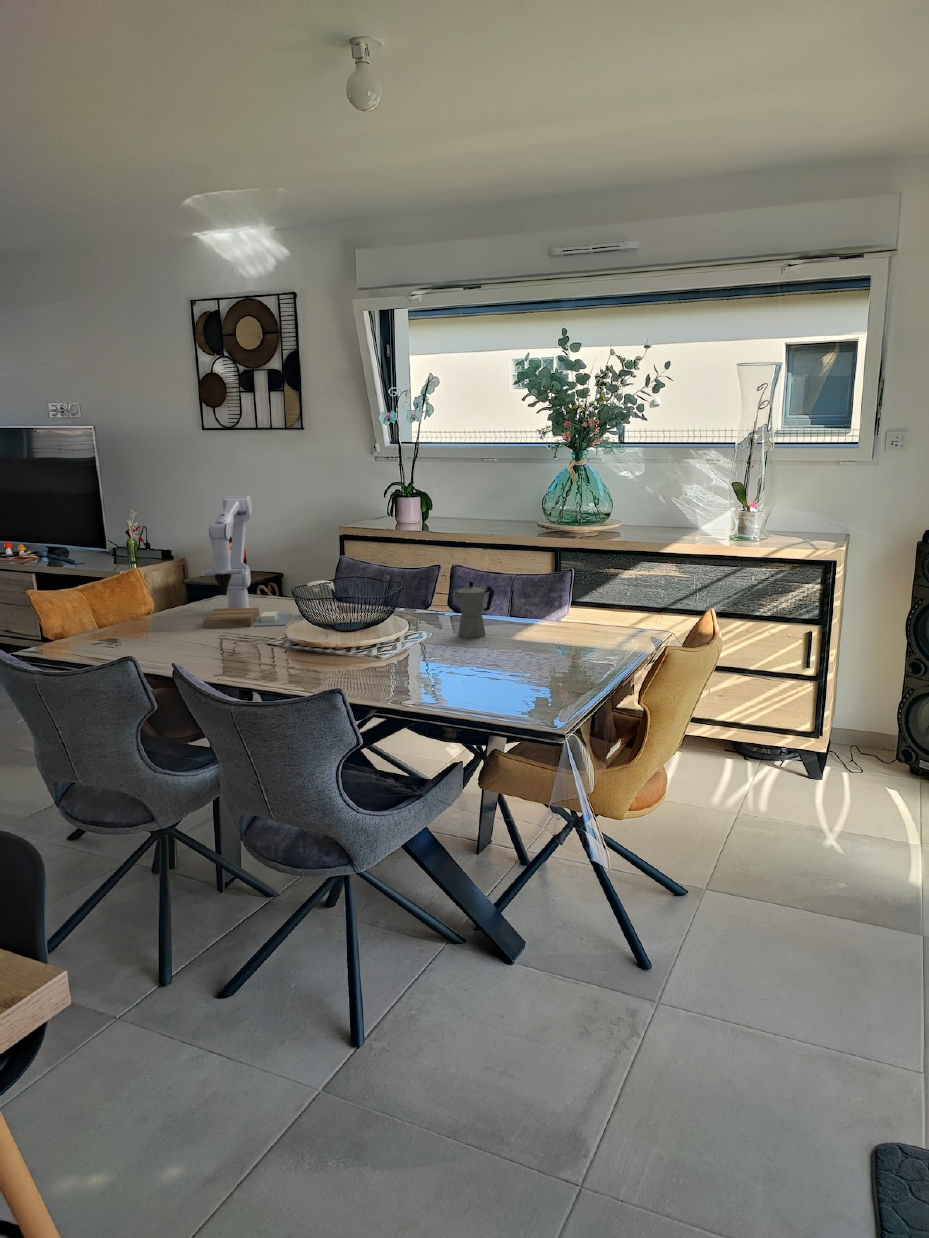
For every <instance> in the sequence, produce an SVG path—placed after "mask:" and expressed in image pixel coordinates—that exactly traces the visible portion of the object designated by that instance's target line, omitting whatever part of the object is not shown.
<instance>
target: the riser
mask: <svg viewBox="0 0 929 1238" xmlns="http://www.w3.org/2000/svg"><path fill="white" fill-rule="evenodd" d="M259 609H260V608H259V607H256V606H255V607H254V606H253V607H251V608H222V607H221V608H220V607H219V608H213V610H211V612H210V613H208V615H206V617H205V618H204V619H203V629H217V628H219V629H220V628H223V629H224V628H243V627H242V626H251V627H252V626H253V625H254V624H255V623H256V622H255V621H257V620H258V618H259V617H260V611H259ZM257 617H258V618H257Z"/></svg>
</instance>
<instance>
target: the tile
mask: <svg viewBox="0 0 929 1238" xmlns="http://www.w3.org/2000/svg"><path fill="white" fill-rule="evenodd" d="M278 614H279V612H278V611H263V612H262V613H261V614H260V615H259V617H260V618H261V622H271V621H276V619H277V618H278Z"/></svg>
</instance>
